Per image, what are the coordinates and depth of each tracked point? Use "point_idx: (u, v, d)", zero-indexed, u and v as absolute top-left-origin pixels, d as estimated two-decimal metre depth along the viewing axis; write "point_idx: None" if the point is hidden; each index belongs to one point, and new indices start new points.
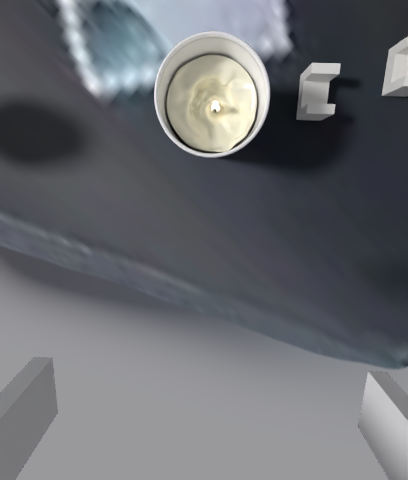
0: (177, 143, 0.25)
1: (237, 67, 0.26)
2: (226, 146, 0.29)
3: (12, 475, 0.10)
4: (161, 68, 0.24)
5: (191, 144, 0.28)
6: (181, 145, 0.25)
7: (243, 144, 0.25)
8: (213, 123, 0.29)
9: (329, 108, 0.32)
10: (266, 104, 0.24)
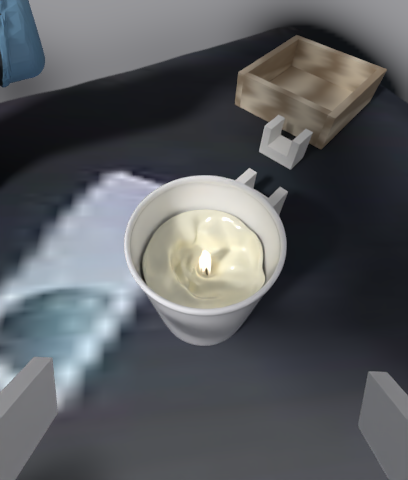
0: (223, 310, 0.15)
1: (192, 213, 0.22)
2: (257, 279, 0.20)
3: (12, 475, 0.10)
4: (129, 259, 0.16)
5: None
6: (230, 306, 0.15)
7: (283, 239, 0.17)
8: (219, 279, 0.21)
9: (280, 192, 0.30)
10: (257, 195, 0.19)
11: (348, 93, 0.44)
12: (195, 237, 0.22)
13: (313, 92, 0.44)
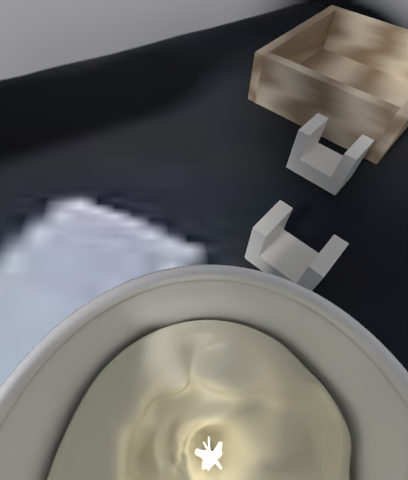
0: None
1: (180, 331, 0.10)
2: None
3: None
4: None
5: None
6: None
7: None
8: None
9: (335, 244, 0.17)
10: (357, 332, 0.07)
11: (405, 84, 0.32)
12: (187, 382, 0.10)
13: (356, 83, 0.32)
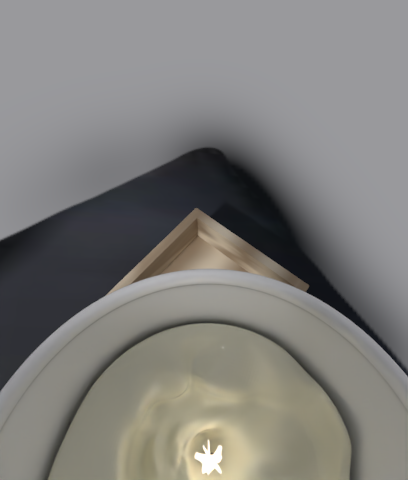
0: None
1: (180, 335, 0.10)
2: None
3: None
4: None
5: None
6: None
7: None
8: None
9: None
10: (358, 336, 0.07)
11: None
12: (186, 385, 0.10)
13: None
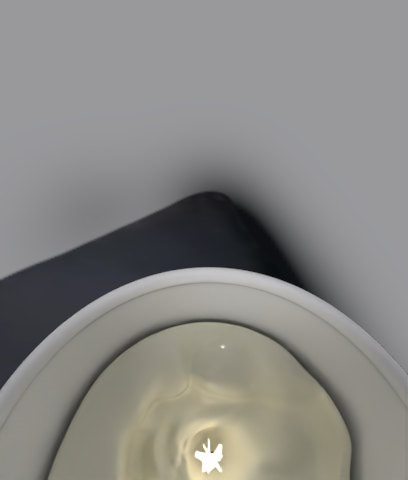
0: None
1: (180, 334, 0.10)
2: None
3: None
4: None
5: None
6: None
7: None
8: None
9: None
10: (358, 335, 0.07)
11: None
12: (187, 384, 0.10)
13: None
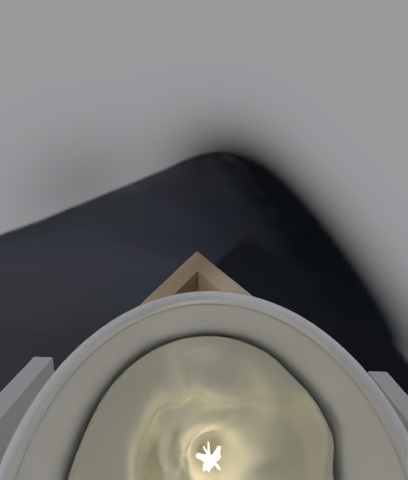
0: None
1: (181, 347, 0.11)
2: None
3: None
4: None
5: None
6: None
7: None
8: None
9: None
10: (333, 347, 0.08)
11: None
12: (187, 392, 0.11)
13: None
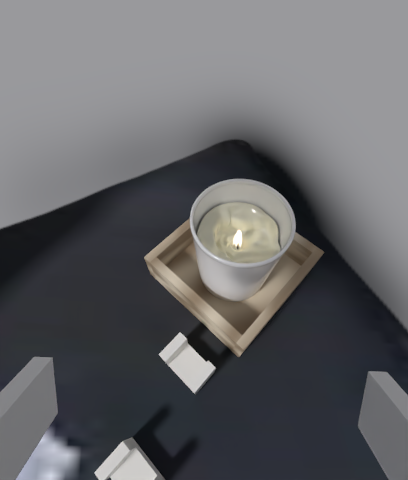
0: (257, 263, 0.24)
1: (227, 205, 0.31)
2: (275, 249, 0.30)
3: (12, 475, 0.10)
4: (195, 235, 0.26)
5: None
6: (261, 262, 0.24)
7: (293, 220, 0.26)
8: (247, 250, 0.31)
9: None
10: (275, 191, 0.28)
11: (285, 261, 0.38)
12: (229, 222, 0.32)
13: None
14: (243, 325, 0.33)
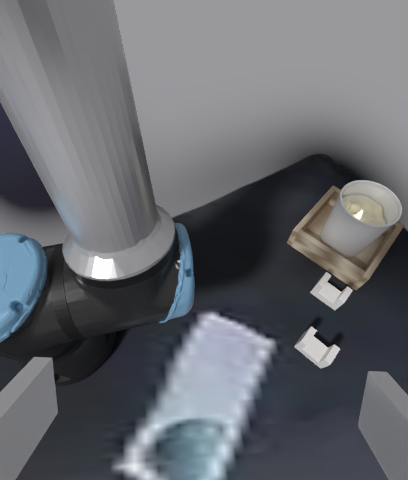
0: (386, 225, 0.45)
1: (349, 196, 0.52)
2: (382, 221, 0.50)
3: (12, 475, 0.10)
4: (347, 211, 0.46)
5: None
6: (388, 224, 0.45)
7: (400, 203, 0.47)
8: None
9: (335, 349, 0.43)
10: (384, 187, 0.49)
11: None
12: (350, 206, 0.52)
13: None
14: None
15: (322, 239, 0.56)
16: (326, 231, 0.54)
